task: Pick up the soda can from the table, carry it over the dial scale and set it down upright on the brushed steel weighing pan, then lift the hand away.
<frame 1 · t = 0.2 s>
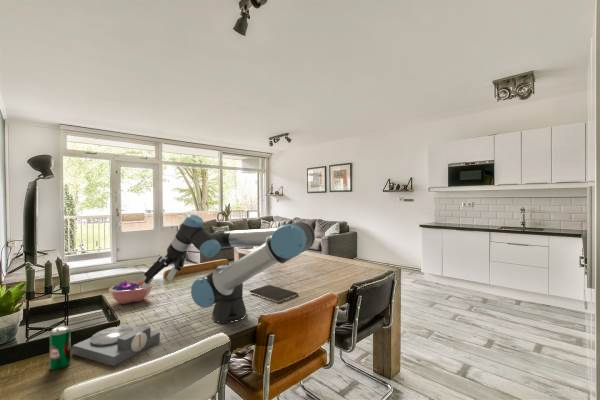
hand: (157, 283, 126), 16 cm above the table, tool tilted 35°, fingers open, 13 cm apart
soda can: (60, 366, 90), on the table
dial scale: (118, 346, 102), on the table
hardcover book: (273, 296, 159), on the table
cell model: (131, 302, 146), on the table
scale pan: (112, 335, 103), point 4 cm above the table, slide at -0.4 cm
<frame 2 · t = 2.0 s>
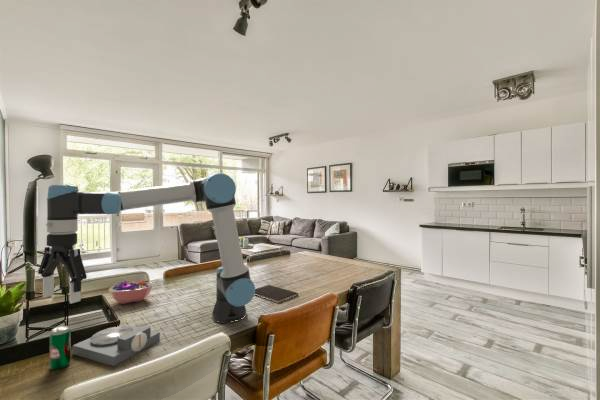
hand: (61, 299, 90), 21 cm above the table, tool pointing down, fingers open, 13 cm apart
nothing on the table moved.
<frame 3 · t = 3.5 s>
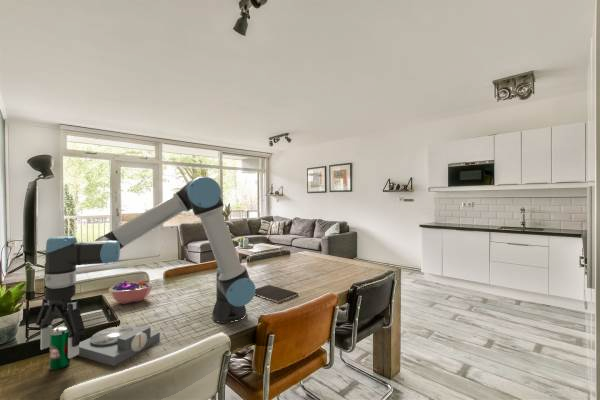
hand: (59, 351, 90), 5 cm above the table, tool pointing down, fingers open, 13 cm apart
nothing on the table moved.
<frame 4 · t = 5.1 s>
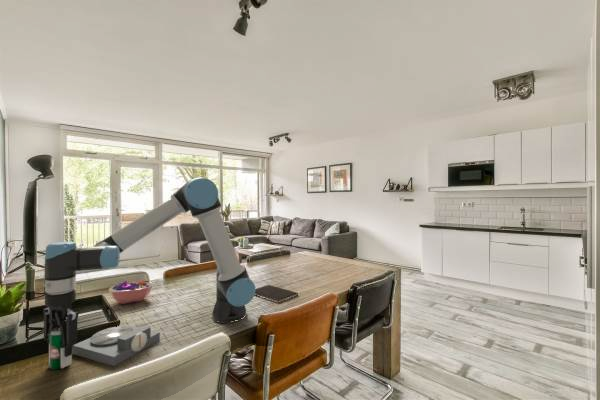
hand: (60, 363, 90), 1 cm above the table, tool pointing down, fingers closed on soda can, 5 cm apart
soda can: (60, 366, 90), on the table, touching gripper
everything else where it was.
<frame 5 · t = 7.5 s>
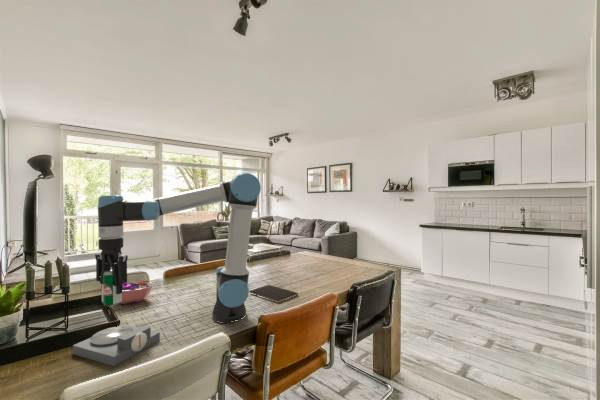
hand: (111, 301, 102), 16 cm above the table, tool pointing down, fingers closed on soda can, 5 cm apart
soda can: (111, 304, 102), point 15 cm above the table, touching gripper
everything else where it was.
when the fingers open (6 cm above the table, at t = 10.2 s): soda can drops 1 cm, resting on scale pan.
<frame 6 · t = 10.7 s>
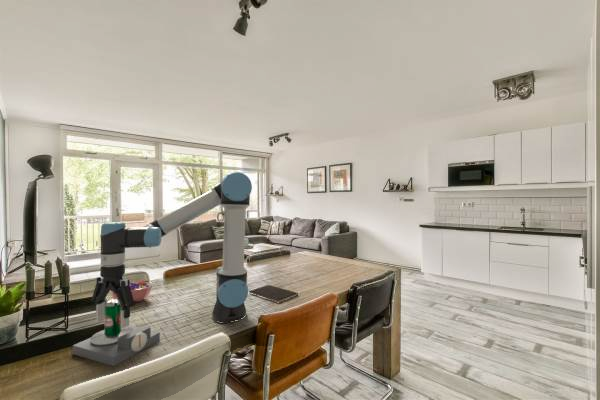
hand: (112, 323, 103), 8 cm above the table, tool pointing down, fingers open, 12 cm apart
soda can: (112, 334, 103), point 4 cm above the table, touching scale pan
scale pan: (112, 335, 103), point 4 cm above the table, slide at -0.5 cm, touching soda can
everything else where it was.
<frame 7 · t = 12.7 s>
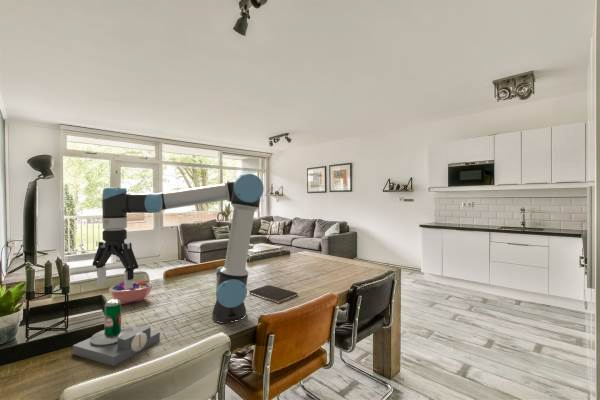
hand: (114, 286, 104), 21 cm above the table, tool pointing down, fingers open, 13 cm apart
nothing on the table moved.
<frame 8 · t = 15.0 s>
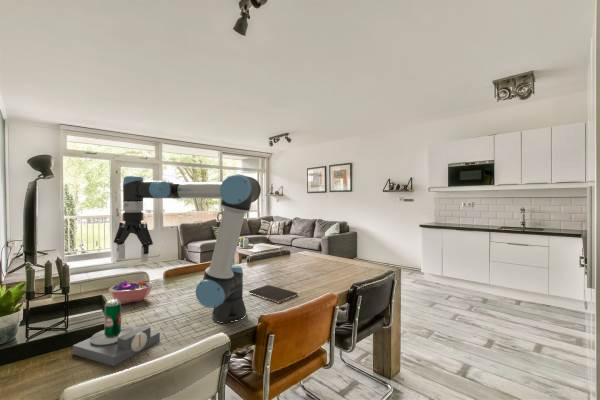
hand: (132, 260, 123), 27 cm above the table, tool pointing down, fingers open, 13 cm apart
nothing on the table moved.
at the end: soda can inside the target area on the scale pan (0.1 cm from its centre), point 4.3 cm above the scale pan's base; soda can tilted 0°; the gripper is holding nothing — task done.
